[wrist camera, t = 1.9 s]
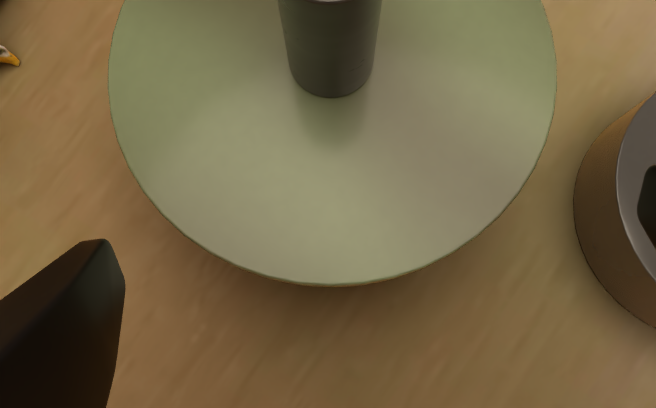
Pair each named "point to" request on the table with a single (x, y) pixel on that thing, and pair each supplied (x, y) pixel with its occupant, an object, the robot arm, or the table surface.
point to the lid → (332, 126)
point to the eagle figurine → (8, 57)
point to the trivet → (619, 209)
